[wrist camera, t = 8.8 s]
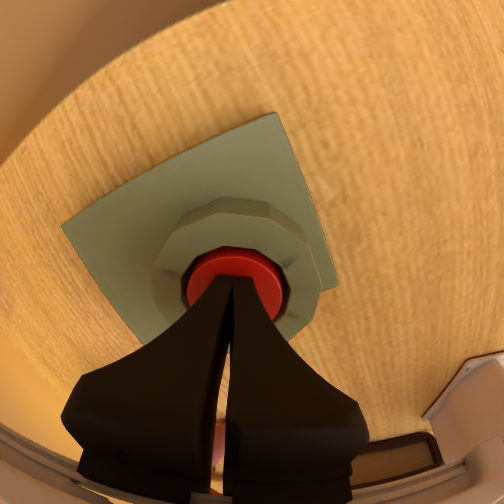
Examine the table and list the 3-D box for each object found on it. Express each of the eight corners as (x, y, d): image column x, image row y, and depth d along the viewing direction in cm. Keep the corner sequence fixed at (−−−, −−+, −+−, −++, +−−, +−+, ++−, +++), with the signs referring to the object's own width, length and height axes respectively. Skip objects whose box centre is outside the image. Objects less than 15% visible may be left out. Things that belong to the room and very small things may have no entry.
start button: (260, 222, 11) (260, 241, 10) (290, 293, 13) (295, 318, 11) (180, 254, 12) (169, 276, 10) (218, 317, 13) (213, 343, 12)
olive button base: (273, 111, 11) (280, 109, 8) (335, 278, 15) (353, 322, 11) (77, 213, 13) (38, 241, 10) (158, 335, 17) (142, 378, 14)
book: (359, 492, 37) (363, 516, 32) (259, 502, 37) (259, 527, 32) (433, 428, 24) (446, 466, 19) (277, 452, 24) (278, 501, 19)
